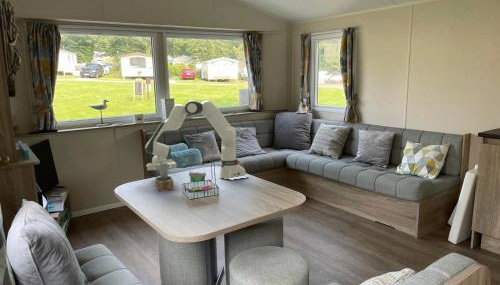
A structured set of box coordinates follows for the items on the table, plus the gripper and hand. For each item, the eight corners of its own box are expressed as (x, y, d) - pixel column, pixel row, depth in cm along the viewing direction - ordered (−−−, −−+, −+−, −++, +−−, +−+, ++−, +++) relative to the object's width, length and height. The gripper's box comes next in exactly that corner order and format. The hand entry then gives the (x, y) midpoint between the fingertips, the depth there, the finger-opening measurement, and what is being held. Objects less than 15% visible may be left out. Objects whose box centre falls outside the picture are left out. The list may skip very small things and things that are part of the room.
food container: (186, 187, 257) (185, 173, 255) (190, 184, 262) (189, 171, 261) (202, 188, 253) (202, 174, 251) (205, 186, 259) (205, 172, 257)
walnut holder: (170, 184, 263) (169, 175, 262) (173, 189, 250) (173, 180, 249) (155, 185, 259) (155, 176, 258) (158, 191, 246) (158, 182, 245)
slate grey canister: (167, 179, 257) (166, 162, 255) (168, 181, 252) (168, 164, 250) (159, 180, 255) (159, 163, 253) (161, 181, 251) (160, 164, 249)
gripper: (145, 160, 263) (147, 165, 250) (174, 158, 270) (177, 163, 258) (145, 169, 264) (147, 174, 251) (174, 167, 271) (178, 171, 259)
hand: (163, 168), depth 254 cm, fingers open, 8 cm apart
